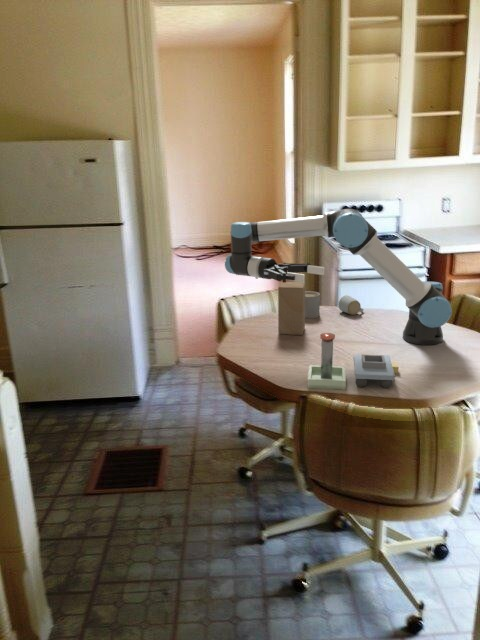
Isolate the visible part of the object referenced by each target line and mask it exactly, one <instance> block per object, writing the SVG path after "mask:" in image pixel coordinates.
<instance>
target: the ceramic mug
mask: <svg viewBox="0 0 480 640" xmlns="http://www.w3.org/2000/svg"><path fill="white" fill-rule="evenodd" d="M337 305H338V309H339V310H340V311H341V312H343V313H345V314H348V315H350V316H354V315H358V314H359V313H363V312H364V310H365V309H364V308H362V307H361V303H360V302H359V300H357V299H356V298H354V297H352V296H351V295H344V296H341V298H340V299H339V301H338V304H337Z"/></svg>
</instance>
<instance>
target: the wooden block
mask: <svg viewBox="0 0 480 640" xmlns="http://www.w3.org/2000/svg"><path fill="white" fill-rule="evenodd" d="M277 289H278V294H277V295H278V297H277V299H278V300H277V301H278V303H277V305H278V306H277V310H278V311H277V312H278V314H277V316H278V317H277V318H278V321H277V323H278V324H277V327H278V331H277V333H278V334H279V335H295V336H302V335H304V334H303V333H304V332H305V331H304V330H305V325H306V324H305V321H306V318H305V291H306V281H305V282H304V283H301V282H294V281H286V283H283V281H280V284H279V286H278V288H277Z"/></svg>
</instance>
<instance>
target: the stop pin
mask: <svg viewBox="0 0 480 640" xmlns="http://www.w3.org/2000/svg"><path fill="white" fill-rule="evenodd" d="M319 338H320V340H321V360H320V363H321V364H320V366H321V379H332V366H333V357H334V354H333V353H334V340H335V339H336V334H334V333H331V332H324V333H320V337H319Z"/></svg>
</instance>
